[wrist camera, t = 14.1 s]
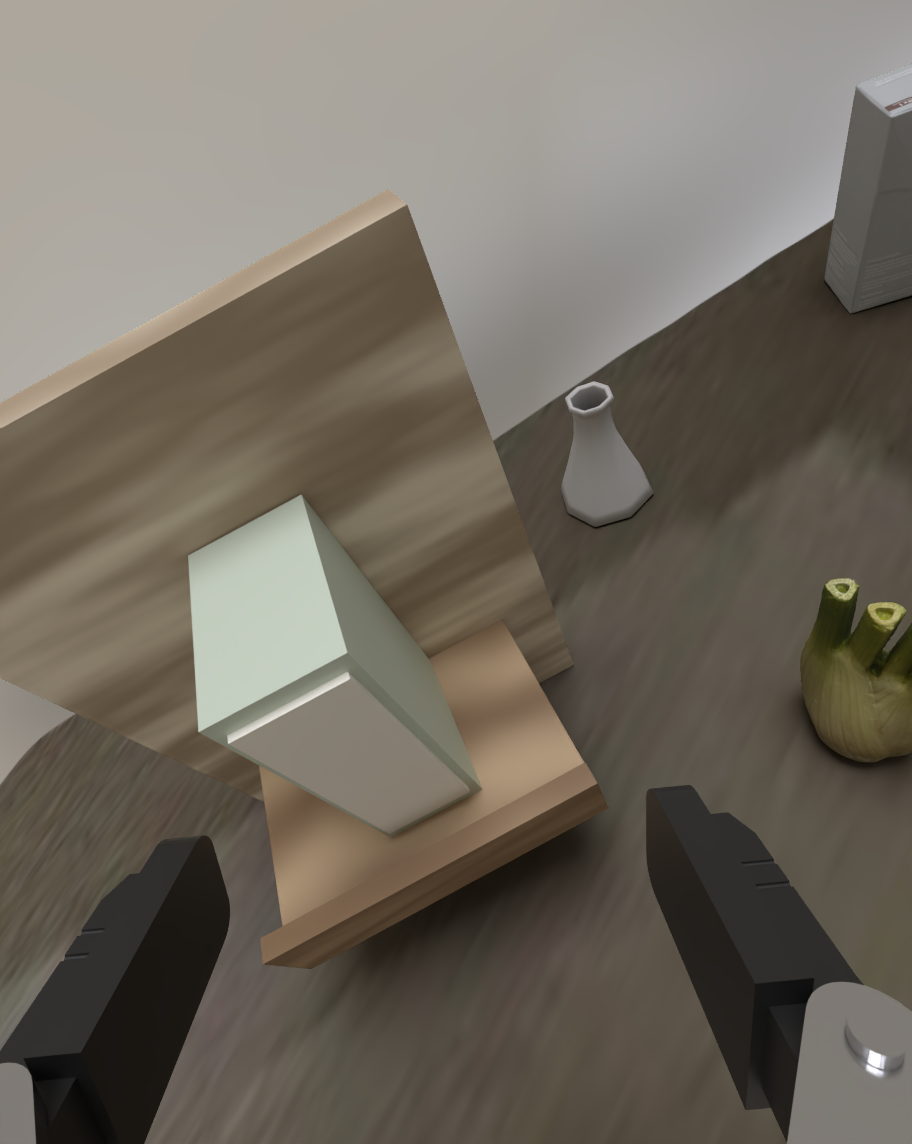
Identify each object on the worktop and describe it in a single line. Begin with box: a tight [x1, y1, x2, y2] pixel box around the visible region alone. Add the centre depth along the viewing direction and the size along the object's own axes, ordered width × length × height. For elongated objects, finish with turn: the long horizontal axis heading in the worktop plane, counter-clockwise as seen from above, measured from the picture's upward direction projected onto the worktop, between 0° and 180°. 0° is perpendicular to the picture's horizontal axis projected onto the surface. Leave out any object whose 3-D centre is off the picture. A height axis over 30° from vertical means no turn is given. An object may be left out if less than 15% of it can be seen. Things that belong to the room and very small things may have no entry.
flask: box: [561, 381, 654, 527], centre depth 44 cm, size 7×7×10 cm
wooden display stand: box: [0, 189, 608, 969], centre depth 27 cm, size 18×22×30 cm
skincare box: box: [824, 64, 912, 313], centre depth 45 cm, size 8×7×16 cm
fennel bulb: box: [800, 578, 912, 762], centre depth 27 cm, size 6×5×12 cm
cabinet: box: [188, 495, 482, 837], centre depth 25 cm, size 8×5×14 cm, turn 21°
